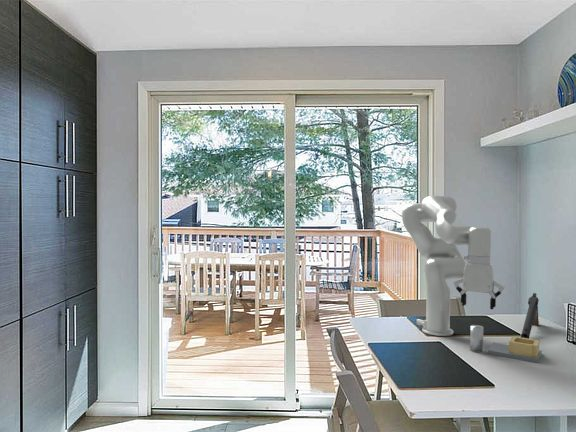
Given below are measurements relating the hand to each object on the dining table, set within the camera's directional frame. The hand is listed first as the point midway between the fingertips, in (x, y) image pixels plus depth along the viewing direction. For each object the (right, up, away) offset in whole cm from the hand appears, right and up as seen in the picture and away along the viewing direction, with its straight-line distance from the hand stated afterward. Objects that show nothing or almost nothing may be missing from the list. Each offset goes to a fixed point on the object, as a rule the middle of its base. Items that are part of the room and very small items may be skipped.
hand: (477, 306), depth 164 cm
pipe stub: (0, -16, 0) cm, 16 cm away
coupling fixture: (+12, -17, -3) cm, 21 cm away
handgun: (+34, -17, +28) cm, 47 cm away
